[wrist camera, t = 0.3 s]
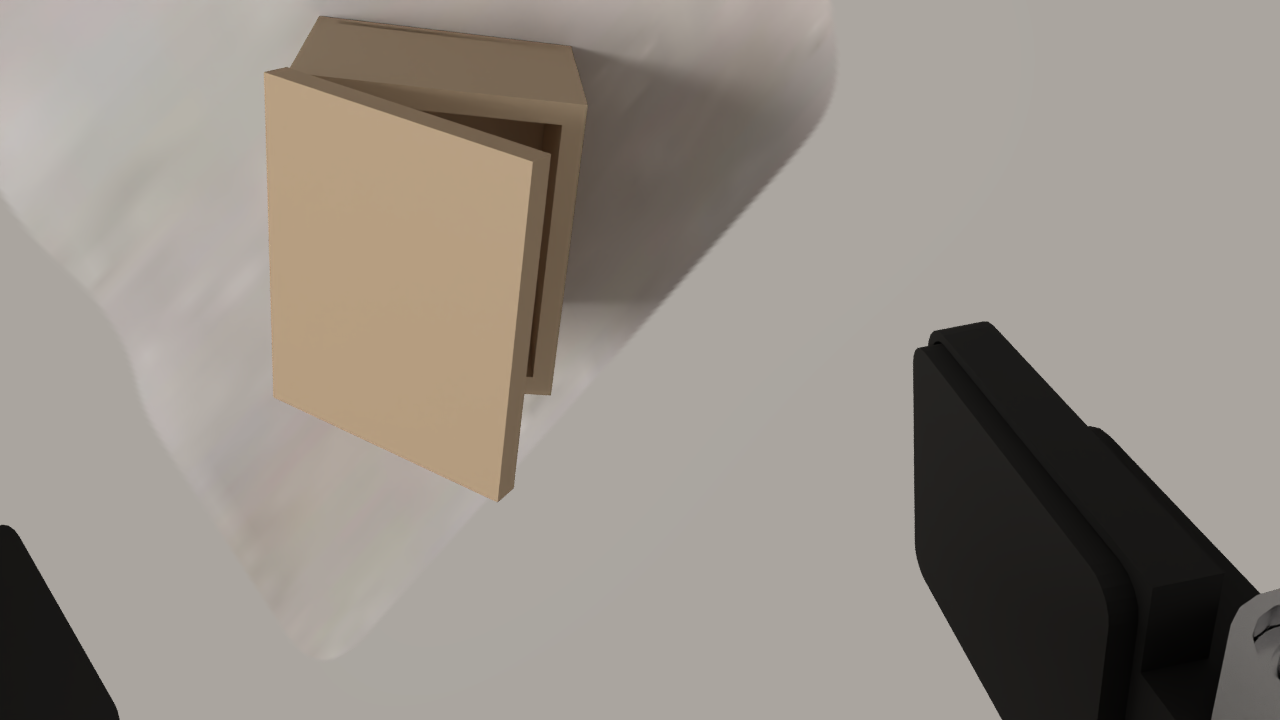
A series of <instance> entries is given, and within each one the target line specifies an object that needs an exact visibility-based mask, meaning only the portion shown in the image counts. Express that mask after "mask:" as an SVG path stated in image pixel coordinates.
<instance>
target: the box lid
mask: <svg viewBox="0 0 1280 720" xmlns="http://www.w3.org/2000/svg"><path fill="white" fill-rule="evenodd" d="M264 86H265V120H266V155H267V189H268V223H269V258H270V292H271V327H272V361H273V396H274V398H276V399H278V400H281V401H283V402H285V403H287V404H289V405H291V406H293V407H295V408H298V409H300V410H302V411H304V412H306V413H308V414H310V415H313V416H315V417H317V418H319V419H321V420H323V421H325V422H327V423H330V424H332V425H334V426H336V427H338V428H340V429H342V430H344V431H347V432H349V433H351V434H353V435H355V436H357V437H359V438H362V439H364V440H366V441H368V442H370V443H372V444H374V445H376V446H379V447H381V448H383V449H385V450H387V451H389V452H391V453H394V454H396V455H398V456H400V457H402V458H404V459H406V460H408V461H411V462H413V463H415V464H417V465H419V466H421V467H423V468H426V469H428V470H430V471H432V472H434V473H436V474H438V475H440V476H443V477H445V478H447V479H449V480H451V481H453V482H455V483H457V484H460V485H462V486H464V487H466V488H468V489H470V490H472V491H475V492H477V493H479V494H481V495H483V496H485V497H487V498H489V499H492V500H494V501H496V502H498V501H500V500H501V499H502V498H503V497H504V496H505V495H506V494H508V493H509V492H510V491H511V490H512V489H513V488H514V480H515V471H516V462H517V453H518V444H519V436H520V427H521V418H522V409H523V400H524V391H525V382H526V373H527V364H528V355H529V346H530V337H531V329H532V320H533V311H534V302H535V293H536V284H537V275H538V266H539V257H540V248H541V239H542V230H543V222H544V213H545V204H546V195H547V186H548V177H549V168H550V159H551V154H550V153H547V152H543V151H540V150H537V149H534V148H531V147H528V146H525V145H522V144H519V143H516V142H513V141H510V140H507V139H504V138H501V137H498V136H495V135H492V134H489V133H486V132H483V131H480V130H477V129H473V128H470V127H467V126H464V125H461V124H458V123H455V122H452V121H449V120H446V119H443V118H440V117H437V116H434V115H431V114H428V113H425V112H422V111H419V110H416V109H413V108H410V107H407V106H403V105H400V104H397V103H394V102H391V101H388V100H385V99H382V98H379V97H376V96H373V95H370V94H367V93H364V92H361V91H358V90H355V89H352V88H349V87H346V86H343V85H340V84H336V83H333V82H330V81H327V80H324V79H321V78H318V77H315V76H312V75H309V74H306V73H303V72H300V71H297V70H294V69H291V68H288V67H285V68H281V69H276V70H272V71H267V72H264Z"/></svg>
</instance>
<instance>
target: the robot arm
mask: <svg viewBox="0 0 1280 720" xmlns="http://www.w3.org/2000/svg"><path fill="white" fill-rule="evenodd" d="M913 390H914V391H913V393H914V494H915V495H914V496H915V498H914V499H915V550H916V556H917V560H918V564H919V567H920V570H921V573H922V575H923V577H924V580H925V582H926V583H927V585H928V586H929V589H930V591H931V592H932V594H933V596H934V598H935V599H936V601H937V603H938V605H939V607H940V609H941V610H942V612H943V614H944V616H945V618H946V619H947V621H948V623H949V625H950V627H951V628H952V630H953V632H954V634H955V636H956V637H957V639H958V641H959V643H960V645H961V646H962V648H963V650H964V652H965V653H966V655H967V657H968V659H969V661H970V663H971V664H972V666H973V668H974V670H975V672H976V674H977V675H978V677H979V679H980V681H981V683H982V684H983V686H984V688H985V690H986V691H987V693H988V695H989V697H990V699H991V701H992V702H993V704H994V706H995V708H996V710H997V711H998V713H999V715H1000V717H1001V719H1002V720H1280V589H1276V590H1273V591H1269V592H1266V593H1263V594H1260V593H1259V592H1258V591H1257V590H1256V589H1255V588H1254V586H1253V585H1251V583H1250V582H1249V581H1248V580H1247V579H1246V578H1245V577H1244V576H1243V575H1242V574H1241V573H1240V572H1239V571H1238V570H1237V569H1236V568H1235V567H1234V565H1232V563H1231V562H1230V561H1229V560H1228V559H1227V558H1226V557H1225V556H1224V555H1223V554H1222V553H1221V552H1220V551H1219V550H1218V549H1217V548H1216V547H1215V546H1214V545H1213V544H1212V542H1210V540H1209V539H1208V538H1207V537H1206V536H1205V535H1204V534H1203V533H1202V532H1201V531H1200V530H1199V529H1198V528H1197V527H1196V526H1195V525H1194V524H1193V523H1192V522H1191V521H1190V519H1189V518H1188V517H1187V516H1186V515H1185V514H1184V513H1183V512H1182V511H1181V510H1180V509H1179V508H1178V507H1177V506H1176V505H1175V504H1174V503H1173V502H1172V501H1171V500H1170V498H1168V496H1167V495H1166V494H1165V493H1164V492H1163V491H1162V490H1161V489H1160V488H1159V487H1158V486H1157V485H1156V484H1155V483H1154V482H1153V481H1152V480H1151V479H1150V478H1149V476H1147V474H1146V473H1144V471H1143V470H1142V469H1141V468H1140V467H1139V466H1138V465H1137V464H1136V463H1135V462H1134V461H1133V460H1132V459H1131V458H1130V457H1129V456H1128V455H1127V453H1126V452H1125V451H1124V450H1123V449H1122V448H1121V447H1120V446H1119V445H1118V444H1117V443H1116V442H1115V441H1114V440H1113V439H1112V438H1111V437H1110V436H1109V435H1108V434H1106V433H1105V432H1104V431H1103V430H1101V429H1100V428H1096V427H1091V426H1087V425H1086V424H1085V423H1084V422H1083V421H1082V420H1081V419H1080V418H1079V417H1078V416H1077V414H1076V413H1075V412H1074V411H1073V410H1072V409H1071V408H1070V407H1069V406H1068V405H1067V404H1066V403H1065V402H1064V401H1063V400H1062V398H1061V397H1060V396H1059V395H1058V394H1057V393H1056V392H1055V391H1054V390H1053V389H1052V388H1051V387H1050V386H1049V385H1048V383H1047V382H1046V381H1045V380H1044V379H1043V378H1042V377H1041V376H1040V375H1039V374H1038V373H1037V372H1036V371H1035V370H1034V368H1033V367H1032V366H1031V365H1030V364H1029V363H1028V362H1027V361H1026V360H1025V359H1024V358H1023V357H1022V356H1021V355H1020V353H1019V352H1018V351H1017V350H1016V349H1015V348H1014V347H1013V346H1012V345H1011V344H1010V343H1009V342H1008V341H1007V340H1006V339H1005V337H1004V336H1003V335H1002V334H1001V333H1000V332H999V331H998V330H997V329H996V328H995V327H994V326H993V325H992V324H990V323H989V322H979V323H973V324H968V325H963V326H957V327H953V328H947V329H942V330H937V331H934V332H933V333H932V334H931V335H930V339H929V343H928V346H926V347H921V348H917V349H916V350H915V353H914V359H913ZM0 720H119V715H118V711H117V708H116V706H115V704H114V702H113V700H112V699H111V697H110V695H109V693H108V692H107V690H106V688H105V686H104V685H103V683H102V681H101V679H100V678H99V676H98V674H97V672H96V670H95V669H94V667H93V665H92V663H91V662H90V660H89V658H88V657H87V655H86V653H85V651H84V649H83V648H82V646H81V644H80V642H79V641H78V639H77V637H76V635H75V634H74V632H73V630H72V628H71V627H70V625H69V623H68V621H67V620H66V618H65V616H64V614H63V613H62V611H61V609H60V607H59V605H58V604H57V602H56V600H55V599H54V597H53V595H52V593H51V591H50V590H49V588H48V586H47V585H46V583H45V581H44V579H43V577H42V576H41V574H40V572H39V571H38V569H37V567H36V565H35V563H34V562H33V560H32V558H31V556H30V555H29V553H28V551H27V549H26V548H25V546H24V544H23V542H22V541H21V539H20V537H19V536H18V534H17V533H16V532H15V530H14V529H12V528H11V527H9V526H6V525H0Z"/></svg>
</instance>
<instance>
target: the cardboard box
mask: <svg viewBox="0 0 1280 720" xmlns="http://www.w3.org/2000/svg"><path fill="white" fill-rule="evenodd" d="M290 68H291V69H294V70H297V71H300V72H303V73H306V74H309V75H312V76H315V77H318V78H321V79H324V80H327V81H330V82H333V83H336V84H340V85H343V86H346V87H349V88H352V89H355V90H358V91H361V92H364V93H367V94H370V95H373V96H376V97H379V98H382V99H385V100H388V101H391V102H394V103H397V104H400V105H403V106H407V107H410V108H413V109H416V110H419V111H422V112H425V113H428V114H431V115H434V116H437V117H440V118H443V119H446V120H449V121H452V122H455V123H458V124H461V125H464V126H467V127H470V128H473V129H477V130H480V131H483V132H486V133H489V134H492V135H495V136H498V137H501V138H504V139H507V140H510V141H513V142H516V143H519V144H522V145H525V146H528V147H531V148H534V149H537V150H540V151H543V152H547V153H550V154H551V159H550V168H549V177H548V186H547V195H546V204H545V213H544V222H543V230H542V239H541V248H540V257H539V266H538V275H537V284H536V293H535V302H534V311H533V320H532V329H531V337H530V346H529V355H528V364H527V373H526V382H525V391H524V394H536V395H551V390H552V382H553V374H554V367H555V359H556V351H557V343H558V335H559V327H560V319H561V312H562V304H563V296H564V288H565V280H566V272H567V264H568V257H569V249H570V241H571V233H572V225H573V217H574V209H575V202H576V194H577V186H578V178H579V170H580V162H581V154H582V147H583V139H584V131H585V123H586V115H587V107H588V104H587V101H586V97H585V94H584V90H583V87H582V84H581V80H580V77H579V73H578V70H577V66H576V63H575V59H574V56H573V52H572V49H571V46H565V45H556V44H548V43H540V42H531V41H523V40H515V39H506V38H498V37H490V36H481V35H473V34H464V33H456V32H448V31H439V30H431V29H423V28H414V27H406V26H398V25H389V24H381V23H373V22H364V21H356V20H348V19H339V18H331V17H323V16H319V17H318V19H317V21H316V23H315V25H314V26H313V28H312V30H311V32H310V33H309V35H308V37H307V39H306V40H305V42H304V44H303V46H302V48H301V49H300V51H299V53H298V55H297V56H296V58H295V60H294V62H293V63H292V65H291V67H290Z"/></svg>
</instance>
